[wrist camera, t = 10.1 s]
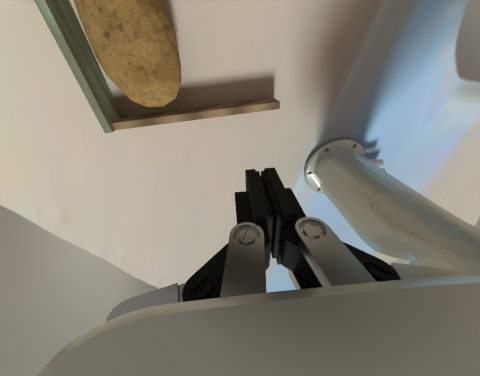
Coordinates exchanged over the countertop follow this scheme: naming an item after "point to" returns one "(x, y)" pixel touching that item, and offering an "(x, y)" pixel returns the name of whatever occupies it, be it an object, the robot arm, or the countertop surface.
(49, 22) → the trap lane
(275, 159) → the countertop surface
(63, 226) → the countertop surface
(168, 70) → the potato
